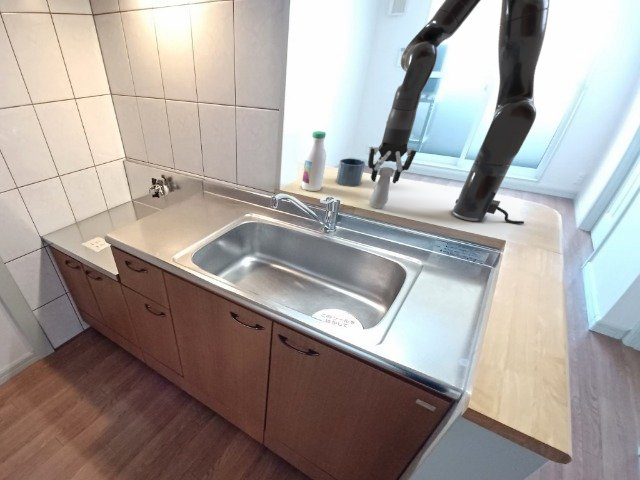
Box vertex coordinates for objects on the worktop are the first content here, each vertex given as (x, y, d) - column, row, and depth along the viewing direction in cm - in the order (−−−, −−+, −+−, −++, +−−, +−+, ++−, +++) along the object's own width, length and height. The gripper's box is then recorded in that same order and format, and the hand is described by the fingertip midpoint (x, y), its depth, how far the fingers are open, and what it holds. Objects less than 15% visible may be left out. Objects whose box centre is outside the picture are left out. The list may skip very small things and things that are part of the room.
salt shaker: (388, 209, 111) (399, 170, 103) (371, 209, 111) (381, 170, 103) (382, 203, 115) (393, 165, 107) (366, 203, 115) (376, 165, 107)
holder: (364, 181, 133) (369, 161, 128) (354, 187, 128) (358, 167, 123) (342, 176, 138) (346, 157, 133) (332, 182, 132) (335, 162, 127)
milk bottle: (321, 185, 130) (330, 130, 117) (320, 192, 124) (330, 135, 111) (302, 184, 131) (309, 129, 118) (300, 190, 125) (307, 133, 113)
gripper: (376, 127, 95) (362, 184, 106) (428, 129, 93) (408, 187, 104) (372, 122, 101) (360, 177, 112) (421, 124, 99) (403, 179, 110)
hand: (383, 181), depth 108 cm, fingers open, 6 cm apart
